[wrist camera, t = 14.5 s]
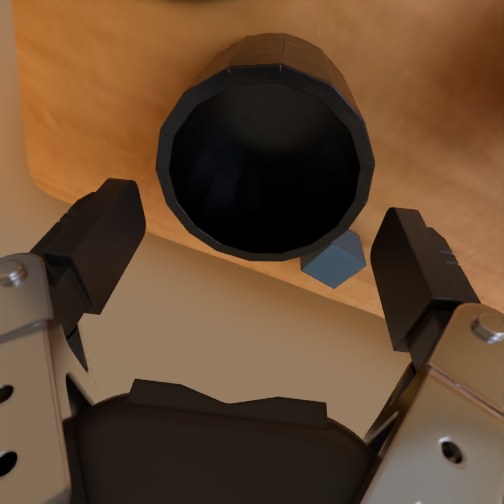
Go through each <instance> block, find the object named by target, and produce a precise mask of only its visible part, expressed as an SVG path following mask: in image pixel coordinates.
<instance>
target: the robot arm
mask: <svg viewBox="0 0 504 504" xmlns="http://www.w3.org/2000/svg"><path fill="white" fill-rule="evenodd" d="M145 229H146V220H145V216H144V211H143V207H142V203H141V198H140V194H139V189H138V186H137V184H136V182H135V181H134V180H125V179H115V178H109V179H107V180H106V181H105V182H104V183H103V185H102V186H101V187H100V188H99V189H98V190H97V191H96V192H91V193H90V194H88V195H86V196H84V197H82V198H81V199H79V200H77V201H76V202H75V204H74V205H73V206H72V207H71V208H70V209H69V210H68V213H65V214H64V215H63V216H62V217H61V219H60V222H57V223H56V224H55V225H54V226H53V227H52V228H51V229H50V231H48V232H47V234H46V235H45V236H44V237H43V238H42V239H41V240H40V241H39V242H38V243H37V244H36V245H35V246H34V247H33V248H32V249H31V251H30V252H29V253H17V254H12V255H8V256H5V257H2V258H0V504H504V314H502V313H501V312H499V311H497V310H496V309H494V308H491V307H489V306H486V305H483V304H481V302H480V301H479V299H478V297H477V295H476V293H475V292H474V290H473V288H472V286H471V285H470V283H469V281H468V279H467V277H466V276H465V274H464V272H463V270H462V269H461V267H460V266H459V265H458V261H457V260H456V258H455V256H454V255H452V251H451V249H450V247H449V245H448V244H447V242H446V240H445V239H444V238H443V237H442V236H441V235H440V234H439V233H437V232H436V231H435V230H434V229H433V228H431V227H427V226H426V224H425V222H424V220H423V218H422V217H421V215H420V213H419V211H418V210H415V209H405V208H395V207H391V208H389V209H388V211H387V212H386V214H385V217H384V219H383V221H382V224H381V226H380V228H379V231H378V233H377V235H376V238H375V240H374V242H373V245H372V248H371V254H370V261H371V266H372V270H373V273H374V277H375V281H376V285H377V289H378V292H379V296H380V300H381V304H382V308H383V311H384V315H385V319H386V323H387V327H388V331H389V334H390V338H391V342H392V346H393V350H394V351H400V352H409V353H410V355H411V359H412V361H411V363H410V364H409V365H408V367H407V368H406V370H405V372H404V373H403V375H402V377H401V378H400V380H399V382H398V384H397V385H396V387H395V389H394V391H393V392H392V394H391V396H390V397H389V399H388V401H387V403H386V404H385V406H384V408H383V409H382V411H381V413H380V414H379V416H378V418H377V419H376V420H375V422H374V423H373V425H372V426H371V428H370V429H369V431H368V432H367V433H366V435H365V436H364V438H363V439H361V438H360V437H359V436H358V435H356V434H355V433H354V432H352V431H351V430H350V429H348V428H347V427H345V426H344V425H342V424H340V423H338V422H337V421H335V420H333V419H331V418H328V417H327V408H326V403H325V402H317V401H309V400H301V399H293V398H285V397H273V398H266V399H259V400H253V401H246V402H239V403H231V404H228V403H224V402H221V401H219V400H216V399H214V398H212V397H209V396H207V395H205V394H202V393H200V392H197V391H195V390H193V389H191V388H188V387H186V386H183V385H181V384H172V383H165V382H157V381H149V380H141V379H135V380H134V382H133V385H132V387H131V390H130V392H129V393H124V394H120V395H116V396H113V397H110V398H107V399H105V400H103V399H102V397H101V394H100V392H99V390H98V388H97V385H96V382H95V379H94V376H93V372H92V368H91V364H90V360H89V356H88V352H87V348H86V344H85V340H84V336H83V332H82V327H81V325H80V323H79V320H80V319H81V317H82V315H83V314H84V313H89V314H97V315H100V314H101V312H102V310H103V308H104V307H105V305H106V303H107V301H108V299H109V298H110V296H111V294H112V292H113V290H114V289H115V287H116V285H117V283H118V281H119V280H120V278H121V276H122V275H123V273H124V271H125V269H126V267H127V266H128V264H129V262H130V260H131V258H132V257H133V255H134V253H135V251H136V249H137V248H138V246H139V244H140V242H141V241H142V239H143V237H144V234H145Z"/></svg>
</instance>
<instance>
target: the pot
mask: <svg viewBox="0 0 504 504" xmlns="http://www.w3.org/2000/svg"><path fill="white" fill-rule="evenodd" d="M374 167H375V160H374V156H373V152H372V148H371V144H370V140H369V136H368V132H367V129H366V125H365V121H364V119H363V117H362V115H361V113H360V111H359V109H358V107H357V105H356V102H355V100H354V98H353V96H352V94H351V92H350V90H349V88H348V86H347V83H346V81H345V79H344V77H343V75H342V74H341V73H340V71H339V70H338V69H337V68H336V67H335V65H334V64H333V63H332V61H331V60H330V59H329V58H328V57H327V56H326V55H325V54H324V53H323V51H322V50H321V49H320V48H318V47H316V46H314V45H312V44H310V43H308V42H307V41H305V40H303V39H300V38H297V37H294V36H291V35H288V34H284V33H282V34H279V33H267V34H260V35H254V36H248V37H245V38H244V39H242V40H241V41H239V42H237V43H235V44H233V45H231V46H230V47H229V48H227V49H226V50H224V51H222V52H221V53H219V54H217V56H215V58H214V59H213V60H212V61H211V62H210V63H209V64H208V66H207V67H206V68H205V69H204V70H203V71H202V72H201V74H200V75H199V76H198V77H197V78H196V79H195V80H194V82H193V83H192V84H191V85H190V86H189V87H188V89H187V90H186V91H185V92H184V93H183V95H182V96H181V98H180V99H179V101H178V102H177V104H176V105H175V107H174V109H173V110H172V112H171V113H170V115H169V116H168V118H167V119H166V121H165V122H164V124H163V125H162V127H161V129H160V134H159V142H158V151H157V159H156V172H157V175H158V178H159V181H160V185H161V188H162V191H163V194H164V198H165V201H166V204H167V205H168V207H169V208H170V209H171V211H172V212H173V213H174V214H175V216H176V217H177V218H178V219H179V221H180V222H181V223H182V225H183V226H184V227H185V228H186V230H187V231H188V232H189V233H190V234H192V235H193V236H195V237H196V238H198V239H199V240H201V241H202V242H204V243H205V244H207V245H208V246H210V247H211V248H213V249H214V250H216V251H218V252H222V253H225V254H228V255H232V256H235V257H238V258H241V259H245V260H248V261H249V260H250V261H286V260H290V259H293V258H297V257H300V256H304V255H307V254H311V253H314V252H317V251H319V250H320V249H322V248H323V247H325V246H326V245H328V244H329V243H331V242H332V241H334V240H335V239H337V238H338V237H340V236H341V235H343V234H344V233H345V232H346V231H347V230H348V228H349V227H350V226H351V224H352V223H353V221H354V220H355V219H356V217H357V216H358V214H359V213H360V212H361V210H362V209H363V208H364V206H365V205H366V203H367V200H368V196H369V191H370V186H371V181H372V177H373V172H374Z"/></svg>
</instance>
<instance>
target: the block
mask: <svg viewBox="0 0 504 504" xmlns="http://www.w3.org/2000/svg"><path fill="white" fill-rule="evenodd" d="M300 261H301V271H303V272H305V273H306V274H308V275H310V276H312V277H314V278H315V279H317V280H319V281H321V282H322V283H324V284H326V285H328V286H330V287H331V288H333V289H334V288H336V287H337V286H339V285H340V284H342V283H343V282H344V281H346V280H347V279H349V278H350V277H351V276H353V275H354V274H356V273H357V272H358V271H360V270H361V269H363V268H364V267H365V266H366V261H365V257H364V253H363V249H362V245H361V241H360V237H359V236H358V235H357V234H355V233H354V232H352V231H351V230H349V229H348V230H347V231H346V232H345V233H344V234H343V235H341V236H340V237H338V238H337V239H335V240H334V241H332V242H331V243H329V244H328V245H326V246H325V247H323V248H322V249H320V250H319V251H317V252H314V253H311V254H307V255H304V256H300Z"/></svg>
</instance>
